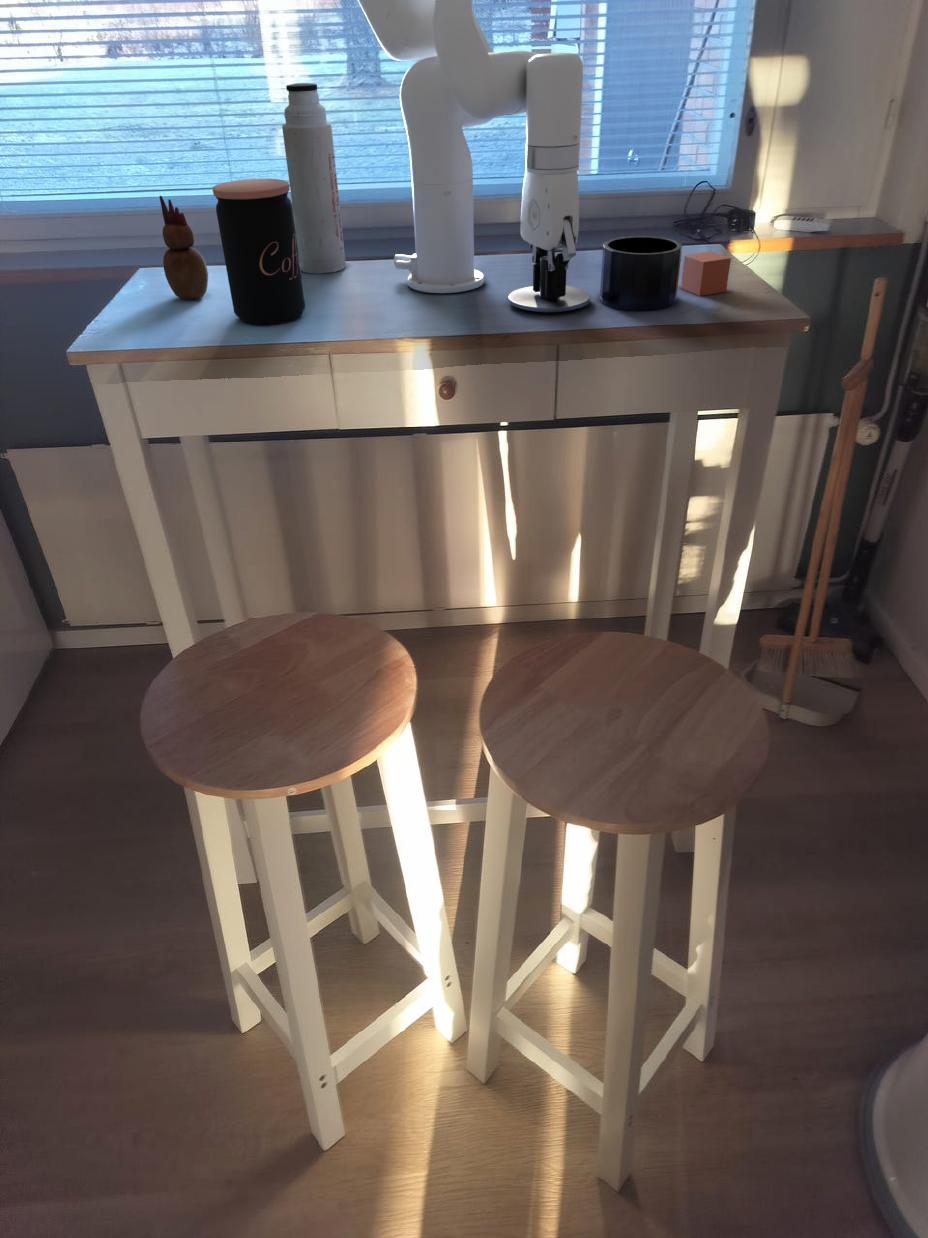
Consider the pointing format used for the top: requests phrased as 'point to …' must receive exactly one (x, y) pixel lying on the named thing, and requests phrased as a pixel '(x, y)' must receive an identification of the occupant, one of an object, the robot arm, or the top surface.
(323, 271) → the thermos bottle
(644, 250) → the pot
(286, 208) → the coffee jar
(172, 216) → the wooden figurine
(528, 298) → the lid
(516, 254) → the top surface
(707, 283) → the block
